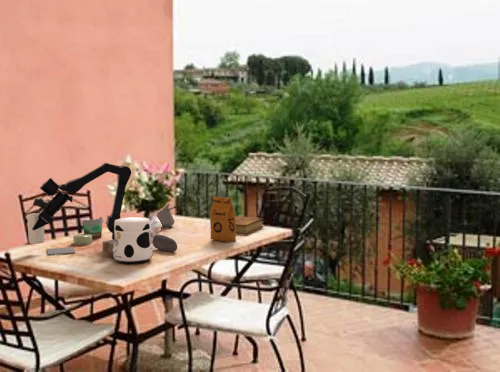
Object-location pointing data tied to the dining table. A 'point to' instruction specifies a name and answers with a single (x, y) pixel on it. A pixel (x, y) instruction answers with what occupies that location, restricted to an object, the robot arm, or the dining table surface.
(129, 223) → the milk container
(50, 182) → the robot arm
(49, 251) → the coaster
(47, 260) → the dining table surface
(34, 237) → the tumbler
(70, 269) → the dining table surface
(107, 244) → the walnut box
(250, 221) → the diary
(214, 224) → the coffee package
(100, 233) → the food container
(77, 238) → the sage green dome
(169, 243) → the grey oval stone
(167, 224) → the coffee pot
